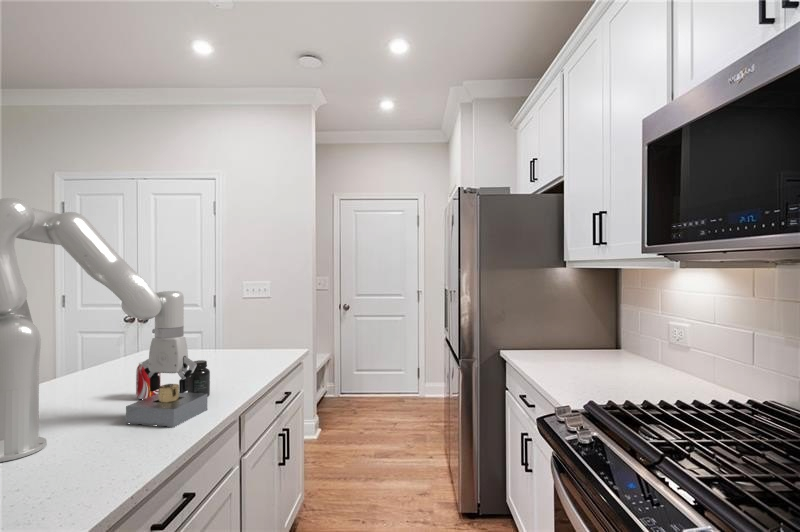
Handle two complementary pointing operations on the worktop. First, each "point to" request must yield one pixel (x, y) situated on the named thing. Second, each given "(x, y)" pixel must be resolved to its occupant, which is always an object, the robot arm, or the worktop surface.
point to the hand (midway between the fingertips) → (169, 391)
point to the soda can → (143, 383)
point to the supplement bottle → (200, 379)
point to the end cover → (168, 393)
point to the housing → (166, 410)
